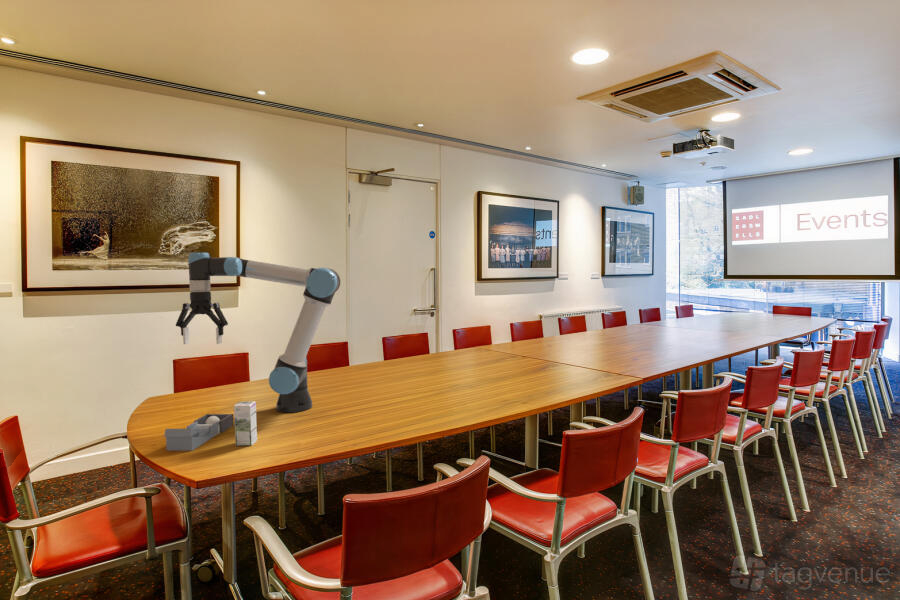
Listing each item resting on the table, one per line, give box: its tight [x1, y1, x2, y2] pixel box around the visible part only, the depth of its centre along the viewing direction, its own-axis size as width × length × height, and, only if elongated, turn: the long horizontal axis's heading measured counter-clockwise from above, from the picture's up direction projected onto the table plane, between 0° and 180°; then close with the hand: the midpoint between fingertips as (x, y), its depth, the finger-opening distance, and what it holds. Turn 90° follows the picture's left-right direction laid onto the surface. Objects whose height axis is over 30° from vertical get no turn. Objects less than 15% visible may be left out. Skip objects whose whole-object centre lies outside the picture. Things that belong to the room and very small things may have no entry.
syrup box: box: [233, 400, 258, 447], centre depth 170 cm, size 6×6×14 cm
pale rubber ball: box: [206, 416, 220, 424], centre depth 186 cm, size 5×5×5 cm
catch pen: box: [193, 413, 234, 434], centre depth 187 cm, size 9×11×4 cm
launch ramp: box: [163, 421, 221, 452], centre depth 173 cm, size 19×9×8 cm, turn 178°
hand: (202, 343), depth 196 cm, fingers open, 13 cm apart
